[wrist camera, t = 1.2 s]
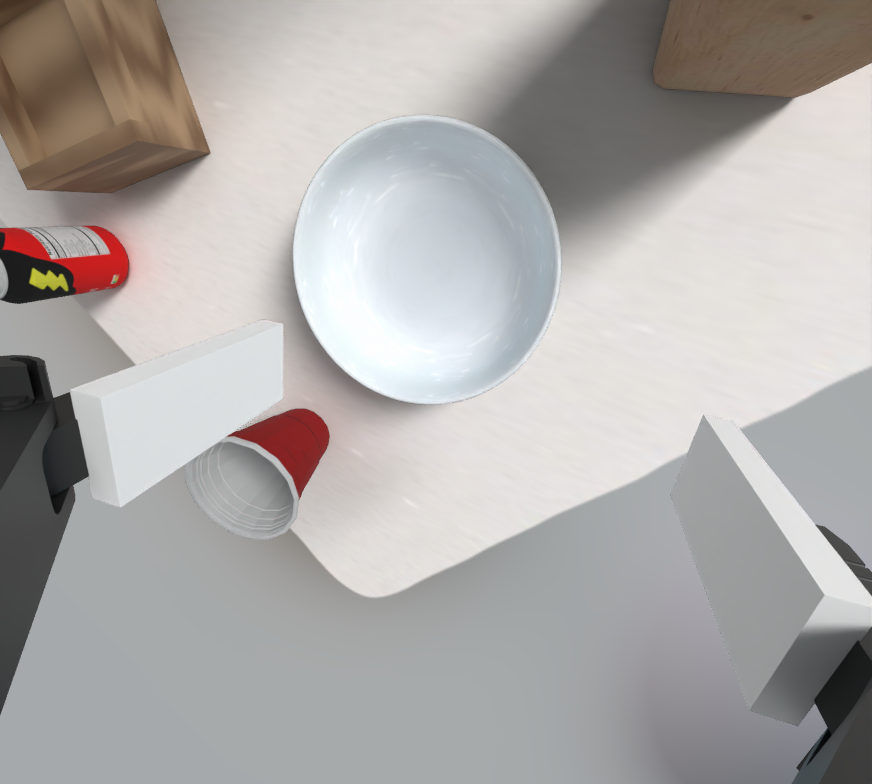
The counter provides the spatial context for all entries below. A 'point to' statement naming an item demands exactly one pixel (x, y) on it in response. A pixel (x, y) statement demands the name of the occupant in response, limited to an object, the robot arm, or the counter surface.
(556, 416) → the counter surface
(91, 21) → the brown open box
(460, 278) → the serving bowl
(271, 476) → the plastic cup
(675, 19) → the wooden block
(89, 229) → the beverage can
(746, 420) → the counter surface
